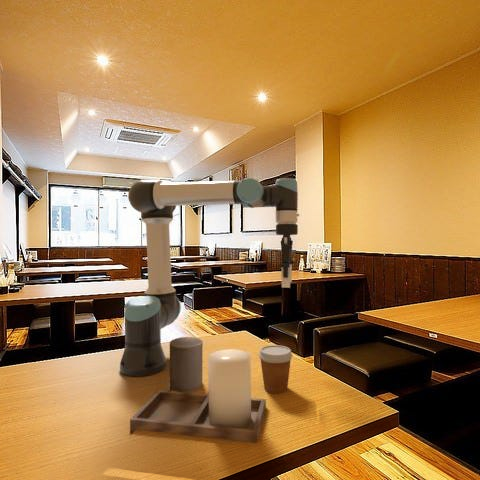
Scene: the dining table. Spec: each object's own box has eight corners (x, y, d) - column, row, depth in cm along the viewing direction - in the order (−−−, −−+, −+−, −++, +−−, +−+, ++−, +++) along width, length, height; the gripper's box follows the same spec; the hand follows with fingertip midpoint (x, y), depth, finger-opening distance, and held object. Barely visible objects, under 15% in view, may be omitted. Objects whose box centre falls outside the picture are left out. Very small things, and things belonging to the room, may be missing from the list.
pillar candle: (162, 391, 96) (162, 339, 96) (181, 378, 105) (181, 330, 105) (191, 398, 92) (191, 344, 92) (208, 384, 101) (208, 334, 101)
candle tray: (130, 432, 76) (129, 419, 76) (158, 401, 91) (158, 390, 91) (256, 447, 70) (256, 433, 70) (265, 411, 85) (265, 399, 85)
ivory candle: (203, 429, 75) (202, 362, 75) (215, 407, 85) (214, 348, 85) (247, 434, 73) (246, 365, 73) (254, 411, 83) (253, 350, 83)
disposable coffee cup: (270, 403, 89) (270, 358, 89) (252, 389, 97) (252, 347, 97) (299, 395, 93) (299, 352, 93) (280, 382, 102) (279, 342, 102)
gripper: (296, 221, 104) (297, 290, 104) (298, 224, 128) (298, 280, 128) (272, 222, 105) (272, 289, 105) (278, 225, 130) (278, 280, 130)
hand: (286, 284), depth 117 cm, fingers open, 13 cm apart
